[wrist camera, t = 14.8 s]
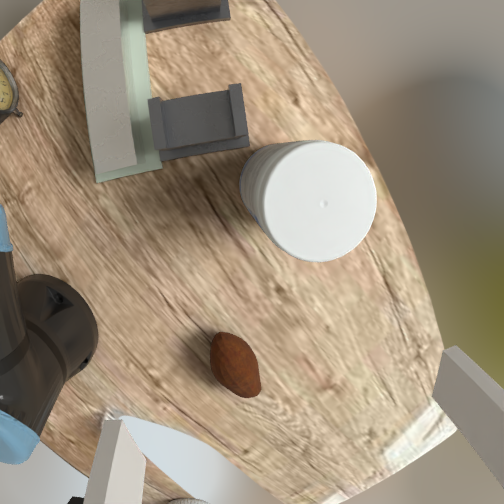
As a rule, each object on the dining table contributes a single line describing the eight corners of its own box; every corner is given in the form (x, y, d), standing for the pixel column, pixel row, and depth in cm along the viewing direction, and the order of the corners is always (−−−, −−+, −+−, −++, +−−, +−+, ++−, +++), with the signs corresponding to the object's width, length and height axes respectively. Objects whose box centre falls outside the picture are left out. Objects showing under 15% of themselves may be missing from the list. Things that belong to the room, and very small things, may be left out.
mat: (98, 182, 34) (96, 183, 34) (81, 6, 27) (80, 4, 26) (162, 168, 35) (161, 168, 34) (141, -12, 27) (141, -14, 27)
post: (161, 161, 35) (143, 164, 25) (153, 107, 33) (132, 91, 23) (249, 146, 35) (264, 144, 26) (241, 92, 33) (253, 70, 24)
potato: (232, 389, 45) (236, 420, 39) (193, 333, 42) (192, 361, 36) (269, 374, 45) (278, 403, 39) (234, 314, 42) (239, 341, 35)
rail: (109, 171, 34) (96, 174, 29) (92, 6, 27) (80, -8, 22) (145, 162, 34) (137, 164, 30) (127, -5, 27) (118, -21, 23)
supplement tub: (231, 215, 38) (243, 254, 24) (248, 134, 35) (272, 123, 21) (309, 230, 39) (360, 273, 25) (327, 154, 37) (391, 159, 23)
